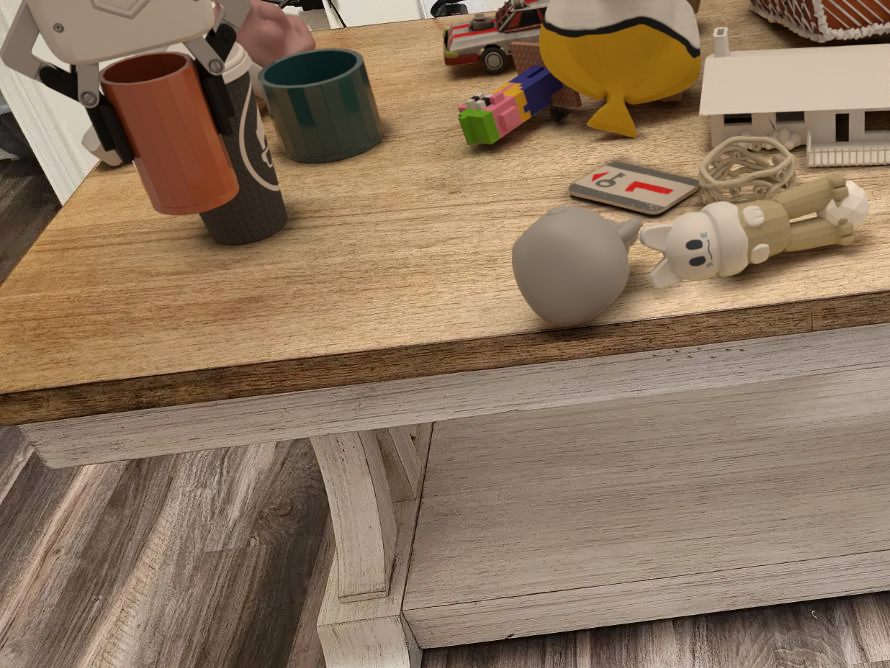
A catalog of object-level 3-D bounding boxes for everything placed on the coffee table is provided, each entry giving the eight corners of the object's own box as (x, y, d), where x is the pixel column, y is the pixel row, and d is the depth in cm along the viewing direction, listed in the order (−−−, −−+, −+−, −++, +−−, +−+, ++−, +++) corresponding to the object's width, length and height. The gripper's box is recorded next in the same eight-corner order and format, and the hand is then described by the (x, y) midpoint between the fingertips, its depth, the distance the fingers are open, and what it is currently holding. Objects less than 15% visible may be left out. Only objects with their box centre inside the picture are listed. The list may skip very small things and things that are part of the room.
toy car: (447, 55, 122) (429, -19, 116) (609, 32, 123) (599, -43, 118) (448, 81, 116) (429, 4, 111) (618, 56, 118) (608, -21, 112)
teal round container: (302, 172, 103) (276, 96, 98) (270, 140, 109) (244, 67, 104) (399, 141, 106) (378, 67, 101) (362, 112, 112) (341, 40, 107)
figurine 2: (566, 45, 104) (480, 100, 97) (582, 104, 108) (500, 162, 101) (513, 41, 107) (426, 95, 101) (530, 99, 111) (448, 154, 105)
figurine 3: (627, 164, 82) (553, 195, 72) (688, 249, 84) (624, 291, 74) (556, 227, 87) (477, 264, 77) (615, 307, 88) (545, 354, 78)
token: (654, 212, 90) (561, 187, 95) (654, 217, 90) (561, 192, 95) (705, 180, 94) (614, 157, 99) (705, 185, 95) (614, 162, 99)
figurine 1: (322, 94, 116) (282, -30, 108) (214, 107, 115) (166, -16, 107) (332, 64, 122) (296, -56, 114) (231, 76, 122) (187, -43, 114)
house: (695, 186, 94) (686, 100, 89) (720, 79, 111) (714, 1, 106) (995, 177, 91) (1004, 87, 86) (974, 68, 108) (980, -13, 103)
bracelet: (686, 146, 92) (708, 185, 86) (777, 124, 93) (806, 162, 87) (693, 191, 95) (715, 232, 89) (782, 170, 96) (810, 209, 90)
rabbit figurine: (886, 240, 83) (663, 302, 79) (831, 226, 92) (626, 282, 88) (877, 166, 81) (647, 227, 77) (821, 159, 90) (610, 213, 85)
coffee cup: (233, 196, 100) (164, 22, 90) (326, 203, 97) (266, 24, 87) (168, 249, 93) (85, 67, 83) (266, 257, 91) (193, 71, 81)
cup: (164, 224, 76) (108, 92, 70) (143, 194, 80) (88, 66, 74) (250, 198, 79) (203, 68, 73) (225, 170, 82) (179, 44, 76)
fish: (562, -135, 96) (730, -91, 99) (553, -56, 108) (703, -20, 111) (531, 86, 95) (702, 123, 98) (525, 141, 107) (678, 172, 110)
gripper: (-103, -119, 59) (54, 200, 71) (221, -175, 66) (314, 126, 78) (-116, -141, 64) (33, 162, 76) (187, -191, 70) (280, 95, 83)
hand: (174, 141), depth 77 cm, fingers closed on cup, 6 cm apart
